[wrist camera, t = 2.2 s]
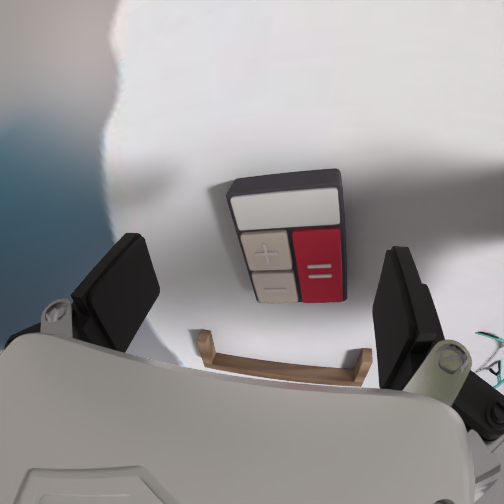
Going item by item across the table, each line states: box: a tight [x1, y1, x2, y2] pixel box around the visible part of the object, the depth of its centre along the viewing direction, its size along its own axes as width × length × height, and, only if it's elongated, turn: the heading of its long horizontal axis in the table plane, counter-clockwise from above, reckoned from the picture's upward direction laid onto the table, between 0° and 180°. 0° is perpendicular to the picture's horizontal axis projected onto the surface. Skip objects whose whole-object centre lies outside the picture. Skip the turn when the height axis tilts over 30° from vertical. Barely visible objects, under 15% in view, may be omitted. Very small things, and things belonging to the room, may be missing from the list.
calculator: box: [226, 169, 347, 303], centre depth 32 cm, size 11×4×15 cm
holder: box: [197, 330, 372, 387], centre depth 45 cm, size 8×27×2 cm, turn 93°
